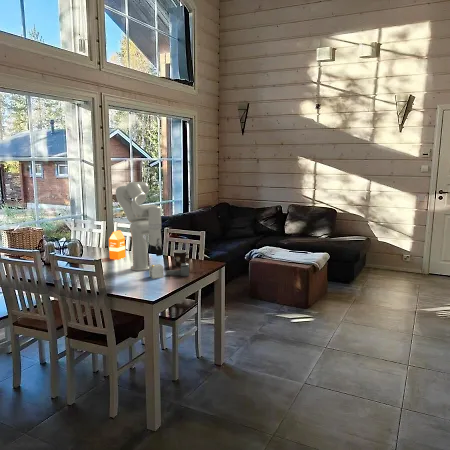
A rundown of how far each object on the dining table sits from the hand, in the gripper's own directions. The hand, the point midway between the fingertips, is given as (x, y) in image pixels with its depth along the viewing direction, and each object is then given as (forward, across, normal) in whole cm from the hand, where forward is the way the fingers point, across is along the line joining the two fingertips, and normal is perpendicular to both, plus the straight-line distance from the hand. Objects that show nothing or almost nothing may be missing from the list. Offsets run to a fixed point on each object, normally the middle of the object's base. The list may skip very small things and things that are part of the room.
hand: (156, 254), depth 247 cm
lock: (+14, -1, 0) cm, 14 cm away
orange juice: (+13, -60, -8) cm, 62 cm away
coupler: (+14, +2, +14) cm, 20 cm away
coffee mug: (+14, -16, +24) cm, 32 cm away
